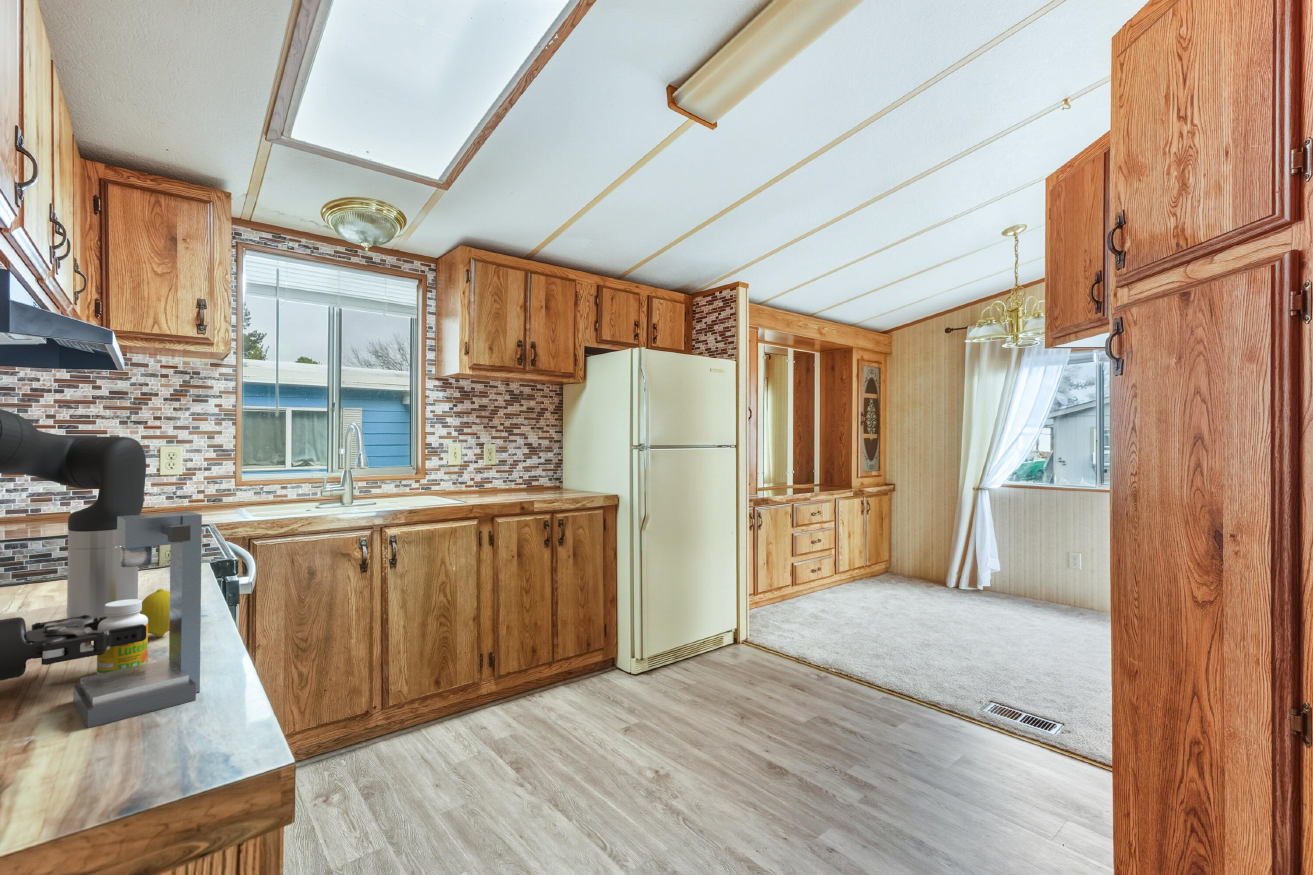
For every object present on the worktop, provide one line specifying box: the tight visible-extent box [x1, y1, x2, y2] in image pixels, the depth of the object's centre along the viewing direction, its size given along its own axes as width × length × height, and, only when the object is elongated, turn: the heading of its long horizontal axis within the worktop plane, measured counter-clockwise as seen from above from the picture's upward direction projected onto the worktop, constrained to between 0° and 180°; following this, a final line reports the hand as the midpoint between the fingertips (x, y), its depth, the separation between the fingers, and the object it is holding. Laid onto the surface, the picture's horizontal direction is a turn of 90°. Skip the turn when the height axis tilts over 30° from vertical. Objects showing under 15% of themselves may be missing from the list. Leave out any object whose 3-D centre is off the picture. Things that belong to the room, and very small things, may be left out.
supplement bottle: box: [96, 598, 149, 675], centre depth 86 cm, size 5×5×10 cm
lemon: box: [140, 588, 170, 638], centre depth 101 cm, size 6×6×8 cm
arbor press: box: [72, 510, 203, 729], centre depth 76 cm, size 15×11×23 cm
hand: (139, 625), depth 88 cm, fingers open, 8 cm apart
